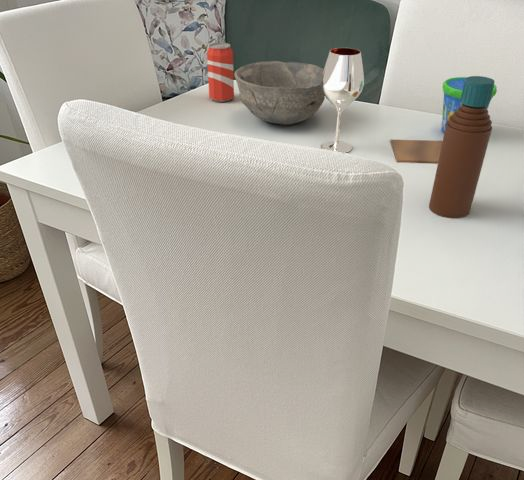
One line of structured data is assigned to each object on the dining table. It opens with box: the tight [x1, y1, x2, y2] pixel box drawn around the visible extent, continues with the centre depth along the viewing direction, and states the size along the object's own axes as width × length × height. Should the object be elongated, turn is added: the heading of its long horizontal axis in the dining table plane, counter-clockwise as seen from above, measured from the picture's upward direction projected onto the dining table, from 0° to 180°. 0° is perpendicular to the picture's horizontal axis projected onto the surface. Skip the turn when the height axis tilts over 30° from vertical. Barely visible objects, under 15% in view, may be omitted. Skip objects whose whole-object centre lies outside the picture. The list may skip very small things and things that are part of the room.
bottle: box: [428, 104, 493, 219], centre depth 90 cm, size 7×7×20 cm
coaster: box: [389, 139, 443, 164], centre depth 116 cm, size 11×11×1 cm
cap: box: [461, 75, 495, 107], centre depth 84 cm, size 4×4×3 cm
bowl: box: [233, 60, 326, 126], centre depth 126 cm, size 21×21×10 cm
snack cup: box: [441, 76, 498, 134], centre depth 120 cm, size 16×10×10 cm
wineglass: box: [320, 47, 365, 154], centre depth 111 cm, size 8×8×18 cm
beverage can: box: [206, 42, 235, 103], centre depth 137 cm, size 6×6×12 cm
